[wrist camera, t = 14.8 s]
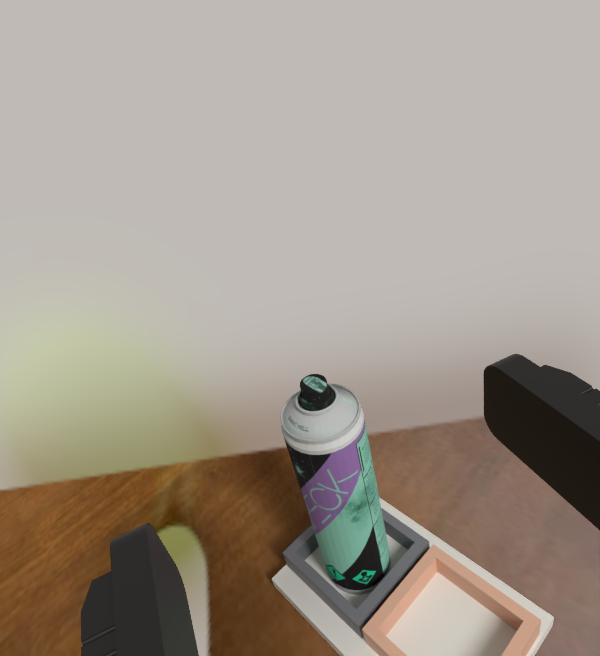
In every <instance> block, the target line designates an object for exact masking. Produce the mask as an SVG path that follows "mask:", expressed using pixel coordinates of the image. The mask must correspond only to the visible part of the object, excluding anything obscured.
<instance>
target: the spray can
mask: <svg viewBox="0 0 600 656" xmlns="http://www.w3.org/2000/svg"><path fill="white" fill-rule="evenodd" d="M300 388H301V391H299V392H297V393H296V394H294V395H293V396H292V397H291V398H290V399H289V400H288V401H287V402H286V403H285V405H284V407H283V409H282V411H281V424H282V433H283V436H284V439H285V442H286V445H287V448H288V451H289V455H290V458H291V461H292V464H293V467H294V470H295V473H296V476H297V480H298V483H299V486H300V489H301V492H302V495H303V498H304V501H305V505H306V508H307V511H308V514H309V517H310V520H311V523H312V527H313V530H314V533H315V536H316V539H317V542H318V545H319V548H320V552H321V555H322V558H323V561H324V564H325V567H326V570H327V573H328V575H329V577H330V579H331V581H332V582H333V584H334V585H335V586H336V587H338V588H339V589H340V590H342V591H344V592H347V593H349V594H355V595H359V594H366V593H370V592H372V591H373V590H374V589H375V588H376V587H377V585H378V584H379V583H380V582H381V581H382V580H383V579H384V577H385V576H386V575H387V574H388V573H389V571H390V565H391V562H390V552H389V547H388V542H387V537H386V531H385V526H384V521H383V515H382V510H381V505H380V499H379V494H378V489H377V483H376V478H375V473H374V467H373V462H372V457H371V452H370V446H369V441H368V436H367V430H366V425H365V420H364V414H363V410H362V408H361V406H360V403H359V400H358V398H357V396H356V395H355V394H354V393H353V392H352V391H351V390H349V389H348V388H345V387H343V386H340V385H335V384H327V381H326V379H325V377H324V376H322V375H319V374H311V375H308V376H306V377H305V378H303V379H302V380H301V382H300Z"/></svg>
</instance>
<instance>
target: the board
mask: <svg viewBox="0 0 600 656" xmlns="http://www.w3.org/2000/svg"><path fill="white" fill-rule="evenodd" d="M379 499H380V505H381V510H382V515H383V521H384V526H385V531H386V537H387V542H388V547H389V552H390V562H391V565H390V571H389V573H388V574H387V575H386V576H385V577H384V579H383V580H382V581H381V582H380V583H379V584H378V585H377V587H376V588H375V589H374V590H373V591H372V592H370V593H366V594H359V595H355V594H349V593H347V592H344V591H342V590H340V589H339V588H338V587H336V586H335V585H334V584H333V582H332V581H331V579H330V577H329V575H328V573H327V570H326V567H325V564H324V561H323V558H322V555H321V552H320V548H319V545H318V542H317V539H316V536H315V533H314V530H313V527H312V524H311V525H310V526H309V527H308V528H307V529H306V530H305V531H304V532H303V533H302V534H301V535H300V536H299V537H298V538H297V539H296V540H295V541H294V542H293V543H292V544H291V545H290V546H289V547H288V548H287V549H286V550H285V551H284V552H283V556H284V558H285V561H286V565H285V566H284V567H283V568H282V569H281V570H280V571H279V572H278V573H277V574H276V575H275V576H274V577H273V578H272V579H271V580H272V582H273V584H274V587H275V588H276V589H277V590H278V591H279V592H280V593H281V594H282V595H283V596H284V597H285V598H286V599H287V600H288V601H289V602H290V603H291V605H292V606H293V607H294V608H295V609H296V610H297V611H298V612H299V613H300V614H301V615H302V616H303V617H304V618H305V619H306V620H307V621H308V623H309V624H310V625H311V626H312V627H313V628H314V629H315V630H316V631H317V632H318V633H319V634H320V635H321V636H322V637H323V638H324V639H325V640H326V642H327V643H328V644H329V645H330V646H331V647H332V648H333V649H334V650H335V651H336V652H337V653H338V654H339V655H340V656H535V654H536V652H537V651H538V649H539V647H540V646H541V644H542V643H543V641H544V639H545V638H546V636H547V634H548V633H549V631H550V629H551V628H552V626H553V620H554V617H553V616H551V615H550V614H548V613H547V612H546V611H544V610H543V609H541V608H540V607H538V606H537V605H535V604H534V603H532V602H531V601H530V600H528V599H527V598H525V597H524V596H522V595H521V594H519V593H518V592H516V591H515V590H514V589H512V588H511V587H509V586H508V585H506V584H505V583H503V582H502V581H500V580H499V579H497V578H496V577H495V576H493V575H492V574H490V573H489V572H487V571H486V570H484V569H483V568H481V567H480V566H479V565H477V564H476V563H474V562H473V561H471V560H470V559H468V558H467V557H465V556H464V555H462V554H461V553H460V552H458V551H457V550H455V549H454V548H452V547H451V546H449V545H448V544H446V543H445V542H444V541H442V540H441V539H439V538H438V537H436V536H435V535H433V534H432V533H430V532H429V531H428V530H426V529H425V528H423V527H422V526H420V525H419V524H417V523H416V522H414V521H413V520H411V519H410V518H409V517H407V516H406V515H404V514H403V513H401V512H400V511H398V510H397V509H395V508H394V507H393V506H391V505H390V504H388V503H387V502H385V501H384V500H382V499H381V498H379Z"/></svg>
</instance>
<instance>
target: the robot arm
mask: <svg viewBox="0 0 600 656" xmlns="http://www.w3.org/2000/svg"><path fill="white" fill-rule="evenodd" d="M484 417H485V420H486V423H487V425H488V427H489V429H490V431H491V432H492V433H493V435H494V436H495V437H496V438H497V439H498V440H499V441H500V442H501V443H502V444H504V445H505V446H506V447H507V448H508V449H509V450H510V451H511V452H513V453H514V454H515V455H516V456H517V457H518V458H519V459H520V460H521V461H523V462H524V463H525V464H526V465H527V466H528V467H529V468H530V469H532V470H533V471H534V472H535V473H536V474H537V475H538V476H539V477H541V478H542V479H543V480H544V481H545V482H546V483H547V484H548V485H550V486H551V487H552V488H553V489H554V490H555V491H556V492H557V493H559V494H560V495H561V496H562V497H563V498H564V499H565V500H566V501H568V502H569V503H570V504H571V505H572V506H573V507H574V508H575V509H576V510H578V511H579V512H580V513H581V514H582V515H583V516H584V517H585V518H587V519H588V520H589V521H590V522H591V523H592V524H593V525H594V526H596V527H597V528H598V529H599V530H600V391H599V390H597V389H593V388H592V386H591V385H589V384H588V383H586V382H585V381H583V380H581V379H580V378H578V377H577V376H575V375H573V374H572V373H570V372H566V371H563V370H560V369H557V368H554V367H551V366H547V365H544V366H542V367H539V366H538V365H536V364H535V363H533V362H531V361H530V360H528V359H527V358H525V357H524V356H522V355H519V354H513V355H511V356H509V357H507V358H504V359H502V360H500V361H498V362H496V363H494V364H491V365H489V366H487V367H486V368H485V370H484ZM110 556H111V572H109V573H107V574H105V575H102V576H100V577H98V578H96V579H94V580H92V582H91V585H90V588H89V591H88V594H87V596H86V599H85V602H84V605H83V608H82V610H81V642H82V644H83V647H81V656H199V655H198V650H197V645H196V640H195V635H194V630H193V626H192V620H191V615H190V610H189V605H188V601H187V596H186V592H185V588H184V584H183V581H182V578H181V576H180V573H179V571H178V568H177V567H176V564H175V563H174V561H173V559H172V558H171V556H170V554H169V553H168V551H167V550H166V548H165V546H164V545H163V543H162V541H161V540H160V538H159V536H158V535H157V533H156V532H155V530H154V528H153V527H152V525H151V524H150V523H147V524H145V525H142V526H140V527H138V528H136V529H134V530H132V531H130V532H127V533H125V534H123V535H121V536H119V537H117V538H115V539H113V540H111V543H110Z"/></svg>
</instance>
